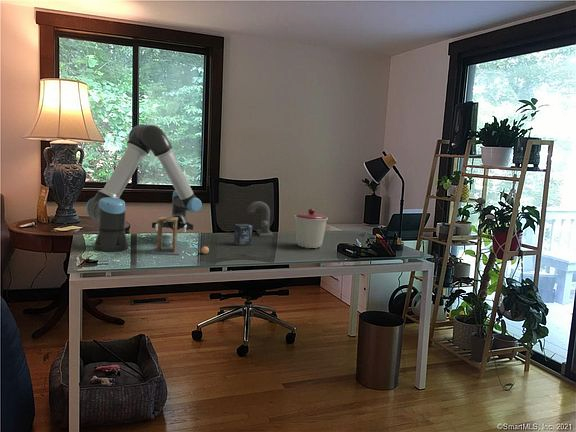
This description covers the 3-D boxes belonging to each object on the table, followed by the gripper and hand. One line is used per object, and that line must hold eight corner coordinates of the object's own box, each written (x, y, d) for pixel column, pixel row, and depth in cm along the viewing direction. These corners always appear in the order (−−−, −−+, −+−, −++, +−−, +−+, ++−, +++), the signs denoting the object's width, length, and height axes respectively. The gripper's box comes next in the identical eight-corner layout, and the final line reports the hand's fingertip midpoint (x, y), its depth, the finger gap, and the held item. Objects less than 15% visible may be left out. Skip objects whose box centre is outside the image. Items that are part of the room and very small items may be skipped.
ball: (201, 254, 235) (201, 247, 234) (201, 252, 238) (201, 245, 238) (208, 254, 235) (208, 247, 235) (208, 253, 238) (209, 245, 238)
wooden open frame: (156, 251, 231) (157, 218, 229) (159, 248, 239) (160, 216, 237) (174, 252, 232) (175, 219, 230) (176, 248, 240) (178, 217, 238)
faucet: (244, 231, 306) (246, 198, 303) (269, 232, 309) (271, 200, 306) (247, 236, 288) (249, 202, 286) (274, 237, 291) (276, 203, 289)
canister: (316, 243, 281) (319, 206, 279) (331, 250, 265) (334, 211, 262) (287, 243, 274) (289, 206, 272) (300, 250, 258) (303, 210, 255)
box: (238, 245, 261) (239, 225, 259) (233, 243, 265) (234, 224, 264) (251, 245, 265) (252, 225, 263) (246, 242, 270) (247, 223, 268)
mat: (150, 253, 229) (150, 252, 228) (155, 248, 241) (155, 246, 241) (179, 255, 230) (179, 253, 230) (182, 249, 243) (182, 248, 243)
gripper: (200, 230, 263) (195, 237, 242) (152, 227, 260) (143, 235, 240) (200, 216, 262) (196, 222, 241) (152, 213, 259) (144, 219, 239)
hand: (170, 228), depth 240 cm, fingers open, 13 cm apart
